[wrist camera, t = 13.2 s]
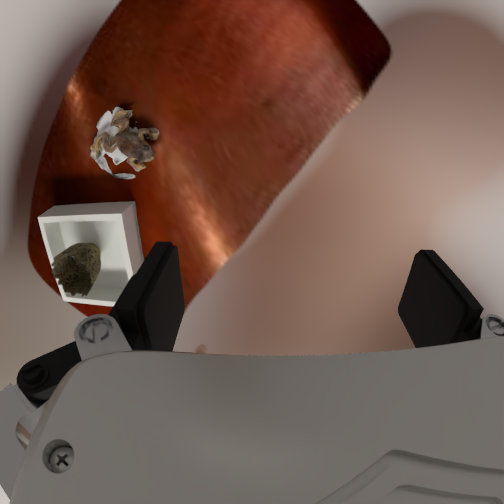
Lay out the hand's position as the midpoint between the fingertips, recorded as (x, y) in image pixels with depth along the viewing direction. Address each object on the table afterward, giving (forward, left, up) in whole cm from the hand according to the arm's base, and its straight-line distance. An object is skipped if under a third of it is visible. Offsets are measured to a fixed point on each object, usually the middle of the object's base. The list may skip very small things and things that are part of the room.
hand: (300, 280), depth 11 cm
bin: (+15, -28, -30) cm, 44 cm away
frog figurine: (-2, -20, -31) cm, 37 cm away
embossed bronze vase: (+15, -28, -29) cm, 44 cm away
